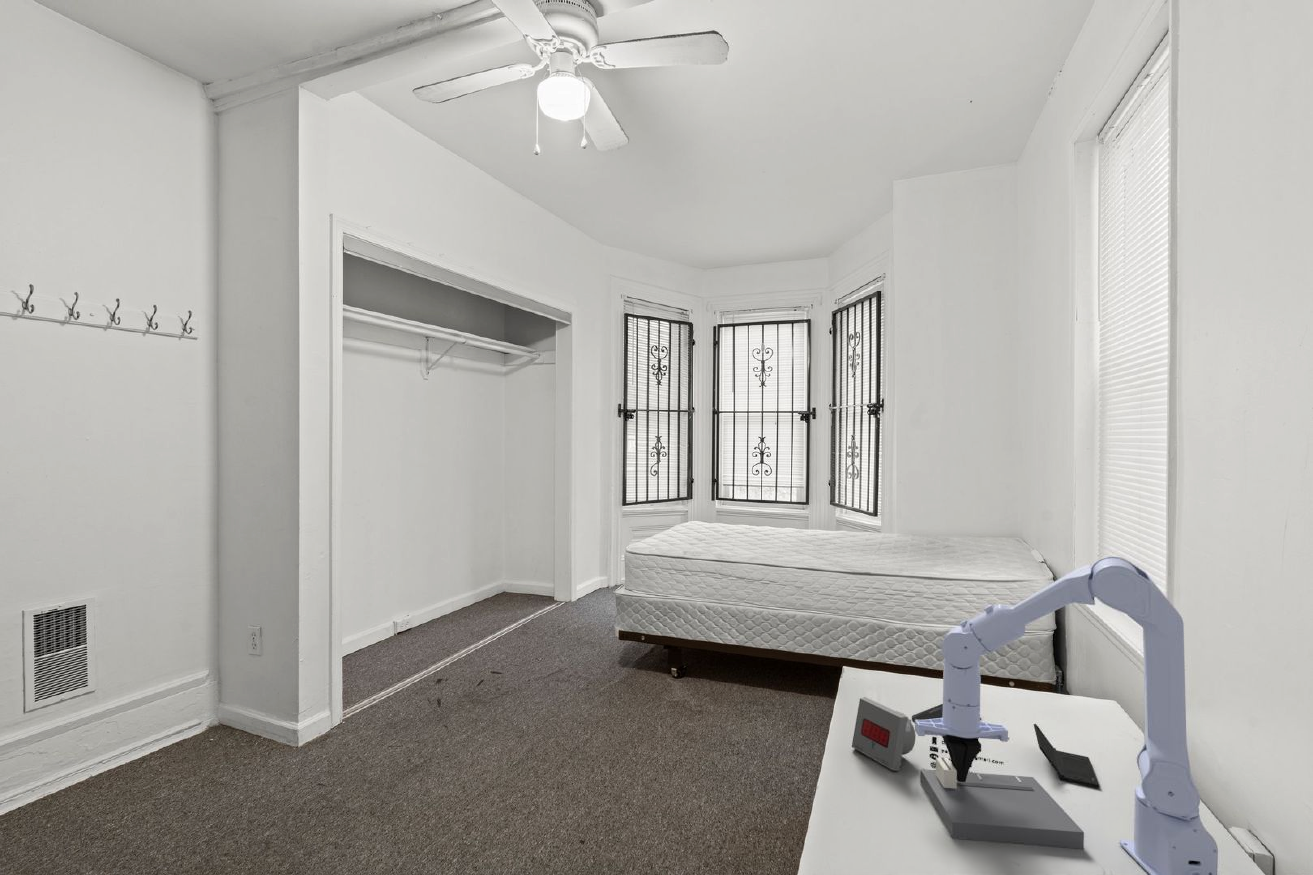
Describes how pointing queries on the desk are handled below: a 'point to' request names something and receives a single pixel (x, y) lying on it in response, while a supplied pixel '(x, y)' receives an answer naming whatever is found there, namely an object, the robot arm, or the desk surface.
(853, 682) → the desk surface
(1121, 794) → the desk surface
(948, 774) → the fader knob
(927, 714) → the square ic package
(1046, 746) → the handheld gaming console
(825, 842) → the desk surface
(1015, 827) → the grey slotted plate
